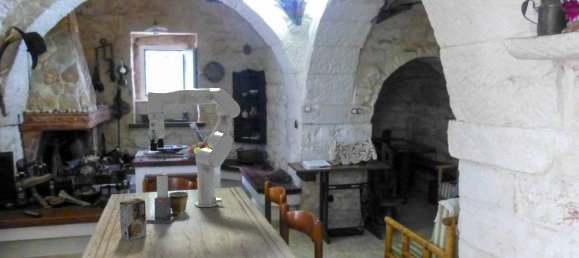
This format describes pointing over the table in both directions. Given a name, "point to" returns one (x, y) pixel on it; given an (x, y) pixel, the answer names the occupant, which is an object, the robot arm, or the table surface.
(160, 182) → the steel post
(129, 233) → the coffee box
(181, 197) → the ceramic cup
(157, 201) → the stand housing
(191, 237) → the table surface
